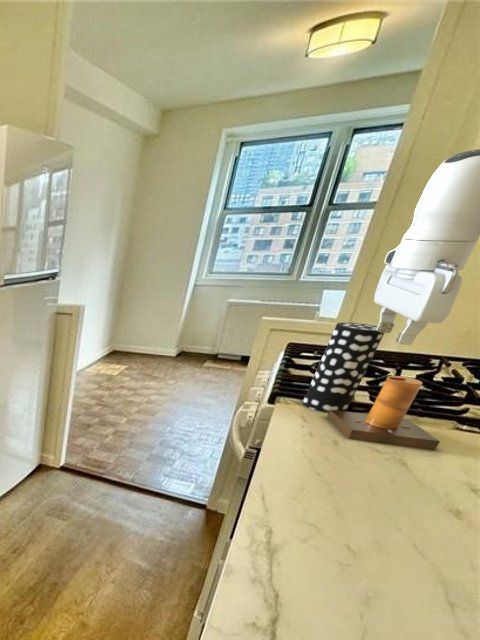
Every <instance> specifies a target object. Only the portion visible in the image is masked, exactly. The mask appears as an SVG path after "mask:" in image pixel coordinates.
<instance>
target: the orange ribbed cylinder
mask: <svg viewBox="0 0 480 640" xmlns="http://www.w3.org/2000/svg"><path fill="white" fill-rule="evenodd" d="M422 386H423V381H421V380H419V379H417V378H412V377H408V376H402V375H401V376H400V375H388V376H387V377H386V379H385V381H384V383H383V385H382V386H381V389H380V391H379V393H378V395H377V397H376V398H375V401H374V402H373V405H372V407H371V408H370V410H369V412H368V413H367V414H368V416H367V418H366V420H365V421H366V422H367V423H368V424H371V425H373V426H376V427H380V428H386V429H397V428H398V427H399V425H400V423H401V422H402V420H403V419H405V416H406V414H407V413H408V411H409V409H410V407H411V405H412V403H413V401H414V400H415V398H416V396H417V394H418V392H419V391H420V390H421V387H422Z"/></svg>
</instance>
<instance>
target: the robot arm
mask: <svg viewBox="0 0 480 640" xmlns="http://www.w3.org/2000/svg"><path fill="white" fill-rule="evenodd" d="M413 216H414V217H413V221H412V224H411V226H410V227H409V229H408V230H407V231H406V233H405V234H404V235H403V237H402V239H401V241H400V244H399V245H398V246H397V247H396V248H394V249H392V250H390V251H388V252H387V253H386V256H385V258H384V259H383V260H384V261H383V264H385V267H384V269H383V271H382V273H381V275H380V279H379V281H378V283H377V286H376V289H375V291H374V296H373V302H374V303H375V304H377V305H379V306H381V309H380V312H379V321H378V324H377V325H376V326H377V329H376V330H377V331H378V332H381V333H384V334H389V333H392V331H393V328H394V327H395V323H394V322H395V318H396V315H398V314H399V315H400V316H403V317H404V318H408V319H407V321H406V323H405V324H406V326H405V328H404V329H403V330H402V332H399V333H398V335H397V337H396V339H395V342H396V343H398V344H399V345H404V346H410V345H412V344H413V343H414V341H415V339H416V337H417V336H418V335H419V334H420V333H421V332H422V331H423V330H424V329H425V328H426V327H427V324H429V323H430V324H440V323H443V322H444V321H445V320H446V319H447V318H448V317H449V315H450V313H451V311H452V309H453V307H454V304H455V302H456V300H457V297H458V294H459V293H460V289H461V287H462V284H463V283H462V282H463V277H462V276H461V275H460V272H461V271H463V270H464V268H465V266H466V264H467V263H468V260H469V259H470V256H471V254H472V252H473V250H474V248H475V246H476V245H477V242H478V240H479V239H480V148H479V149H471V150H467V151H463V152H459V153H456V154H453V155H451V156H449V157H447V158H446V159H445V160H443V161H442V162H441V164H439V166H438V167H437V168H436V170H435V171H434V172H433V174H432V175H431V178H430V179H429V181H428V182H427V184H426V186H425V188H424V190H423V192H422V194H421V197H420V199H419V201H418V203H417V205H416V208H415V210H414V214H413Z"/></svg>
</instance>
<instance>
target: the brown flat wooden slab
mask: <svg viewBox="0 0 480 640" xmlns="http://www.w3.org/2000/svg"><path fill="white" fill-rule="evenodd" d="M368 414H369V413H361V412H352V411H346V412H345V411H337V410H330V411H329V413H327V415H326V419H327V420H328V421H329V422H330V423H331V424H332V425H333V426H334V427H335V428H336V429H337V430H338V431H339V432H340V433H342V435H344V436H345V437H346V438H347V439H349V440H356V441H364V442H368V443H369V442H371V443H377V444H385V445H392V446H399V447H408V448H413V449H414V448H415V449H421V450H429V451H435V450H436V449H437V447H438V446H439V444H440V442H441V441H440V440H439V439H438V438H436V437H435V436H433V434H432V435H431V434H430V433H429V432H428V431H426V430H425V429H423V428H422V427H420V426H419V425H417V424H416V423H415V422H413V421H412V420H410V419H409V418H403V420H402V422H401V423H400V425H399V427H398V428H397V429H386V428H380V427H376V426H373V425H371V424H368V423H367V422H366V421H365V420H366V418H367V416H368Z"/></svg>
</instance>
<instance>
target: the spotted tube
mask: <svg viewBox="0 0 480 640" xmlns="http://www.w3.org/2000/svg"><path fill="white" fill-rule="evenodd" d="M377 326H378V325H373V324H367V323H360V322H338V323H336V325H335V328H334V329H333V332H332V334H331V337H330V338H329V341H328V343H327V346H326V348H325V351H324V353H323V355H322V357H321V359H320V362H319V364H318V366H317V368H316V371H315V372H314V375H313V377H312V380H311V382H310V383H309V384H310V385H309V387H308V389H307V391H306V394H305V396H304V398H303V400H302V405H303V406H304V407H306V408H309V409H311V410H314V411H317V412H322V413H327V414H328V413H329V411H330V410H337V411H345V412H348V408H350V407H349V406H350V405H351V403H352V401H353V398H354V396H355V394H356V392H357V391H358V388H359V386H360V384H361V383H362V380H363V379H364V376H365V374H366V372H367V371H368V368H369V366H370V363H371V361H372V359H373V357H374V355H375V354H376V351H377V349H378V347H379V345H380V344H381V341H382V339H383V337H384V335H385V333H381V332H378V331H377V330H376V329H377Z"/></svg>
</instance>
